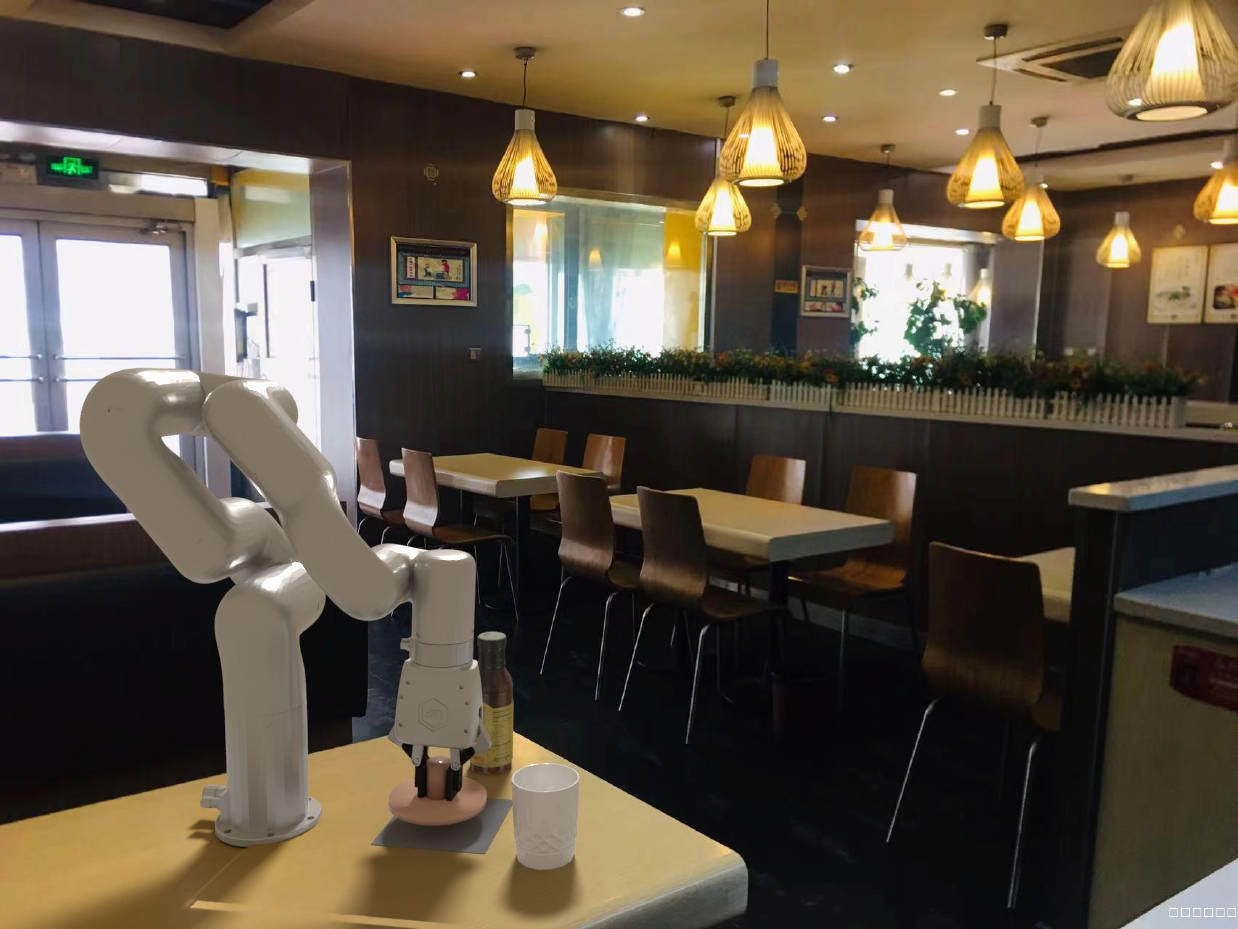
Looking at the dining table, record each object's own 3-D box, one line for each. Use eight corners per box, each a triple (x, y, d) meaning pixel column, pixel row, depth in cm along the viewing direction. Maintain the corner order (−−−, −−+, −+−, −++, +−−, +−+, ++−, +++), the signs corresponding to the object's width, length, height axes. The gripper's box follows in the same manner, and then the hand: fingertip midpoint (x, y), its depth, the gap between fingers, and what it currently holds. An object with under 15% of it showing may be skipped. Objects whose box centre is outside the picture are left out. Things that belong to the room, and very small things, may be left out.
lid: (373, 819, 112) (374, 776, 112) (408, 777, 124) (409, 738, 124) (470, 830, 111) (472, 786, 110) (497, 786, 123) (498, 746, 122)
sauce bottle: (466, 763, 137) (465, 629, 135) (508, 758, 139) (508, 626, 137) (473, 782, 130) (472, 642, 129) (517, 777, 132) (517, 638, 130)
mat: (370, 849, 112) (370, 844, 112) (412, 797, 126) (412, 792, 126) (485, 858, 110) (485, 853, 110) (514, 804, 124) (514, 800, 124)
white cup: (569, 880, 105) (570, 794, 104) (502, 872, 107) (502, 788, 106) (586, 846, 113) (586, 766, 112) (523, 839, 115) (523, 760, 114)
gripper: (366, 654, 113) (363, 801, 115) (498, 666, 111) (493, 815, 113) (390, 637, 121) (387, 775, 122) (514, 648, 118) (509, 788, 120)
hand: (438, 793), depth 118 cm, fingers closed on lid, 3 cm apart
